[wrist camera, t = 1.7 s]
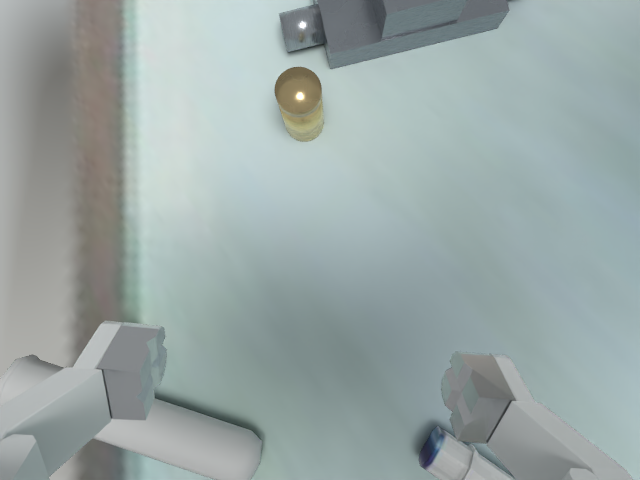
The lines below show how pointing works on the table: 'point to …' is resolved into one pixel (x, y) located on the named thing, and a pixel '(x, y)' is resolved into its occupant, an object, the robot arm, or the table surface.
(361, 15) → the manifold
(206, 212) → the table surface
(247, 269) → the table surface
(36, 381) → the tube
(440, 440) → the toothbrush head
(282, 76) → the brass cylinder
